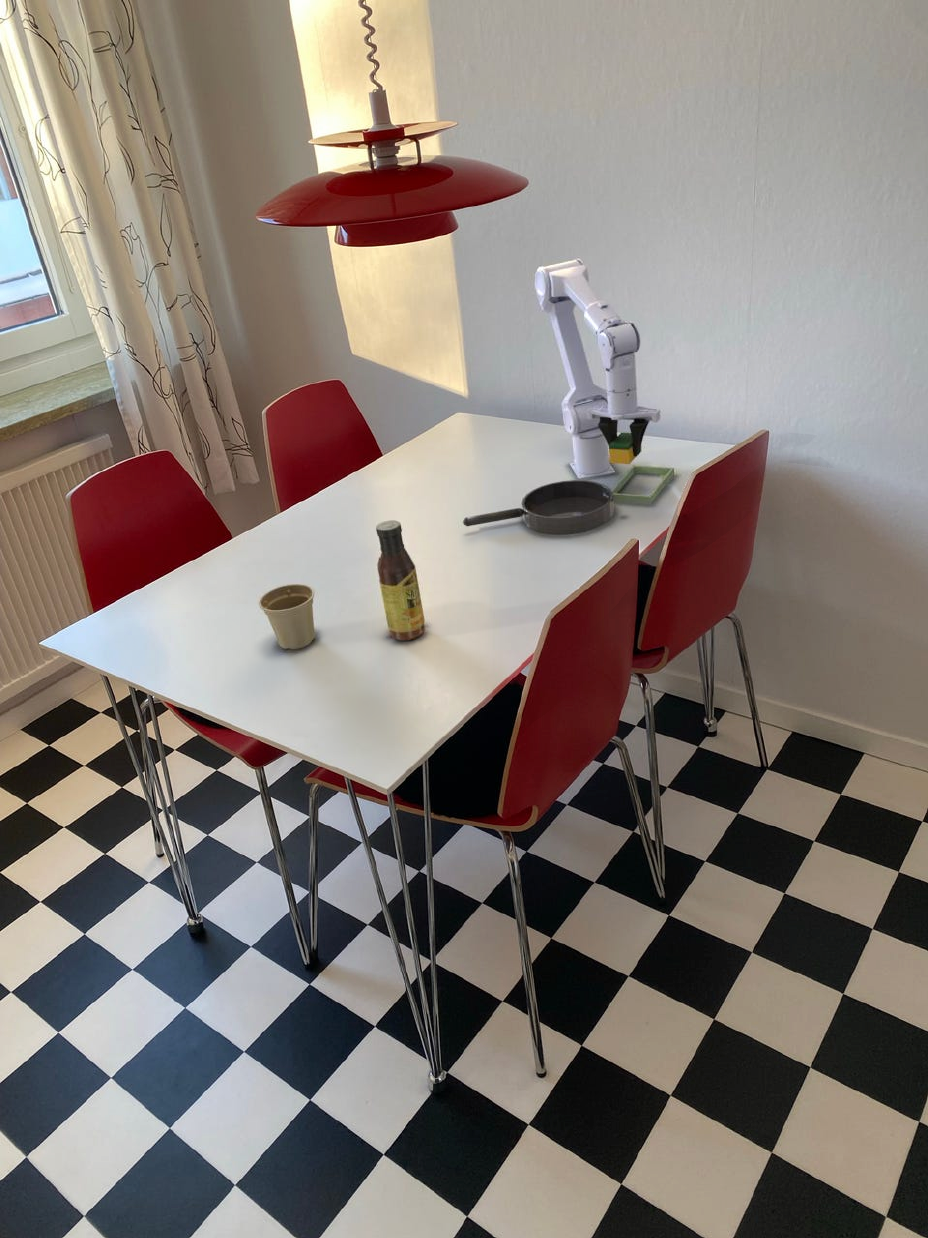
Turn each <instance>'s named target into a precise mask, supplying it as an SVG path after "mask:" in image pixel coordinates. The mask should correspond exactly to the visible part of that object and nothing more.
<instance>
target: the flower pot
mask: <svg viewBox="0 0 928 1238" xmlns="http://www.w3.org/2000/svg"><path fill="white" fill-rule="evenodd" d="M314 597H315V590H314V588H313V587H312V586H310V585H307V584H303V583H290V584H285V585H280V586H276V587H274V588H272V589H270V590H268V591H267V592H265V593H264V594H263V595H262V596H261V597H260V598H259V600H258V606H259V608H260V609H261V610H263V613H264V615H265V616H267V619H268V621H269V624H270V626H271V629H272V631H273V633H274V635H275V637H276V640H277V642H278V644H279V646H280V648H282V649H285V650H286V649H290V650H299V649H302V648H305V647H307V646H309V645H310V644H311V643H312V642H313V640H314V639H315V638H316V632H315V622H314V609H313V608H314V607H313V604H314Z"/></svg>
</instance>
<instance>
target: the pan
mask: <svg viewBox="0 0 928 1238" xmlns="http://www.w3.org/2000/svg"><path fill="white" fill-rule="evenodd" d="M611 490H612V489H611V488H610V487H608V486H607V485H605V484H603V483H600V482H597V481H591V480H585V479H584V480H581V479H571V480H561V481H556V482H555V481H554V482H552V483H547V484H543V485H541V486H539V487H536V488H534V489H533V490H531V491H529V492H528V493H526V494H525V496H524V497H523V498H522V500H521V503H520V504H521V505H520V506H521V509H522V510H523V516H522V520H523V523H524V525H526V527H527V528H529V530H532V531H534V532H536V533H539V534H540V533H541V534H544V535H554V536H555V535H557V536H561V535H563V536H564V535H567V536H568V535H575V534H581V533H585V532H588V531H589V532H590V531H592V530H595V529H598V528H600V527H602V526H603V525H605V524H607V523H608V522H609V521H611V519H612V518H613V516H614V514H615V505H614V501H613V492H612V491H611Z"/></svg>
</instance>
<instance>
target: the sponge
mask: <svg viewBox="0 0 928 1238" xmlns="http://www.w3.org/2000/svg"><path fill="white" fill-rule="evenodd" d="M642 451H643V449H642V448H641V450H640V453H641V452H642ZM608 452H609V464H619V465H620V464H621V465H631V463H632V462H633V461H634V460H636V458H637V457H638V456H634V454H633V441H632V435H631V432H620V433H619V434H617V437H616V438H615V439H614V440H613V441H612V442H611V443H610V444H609V445H608Z"/></svg>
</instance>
